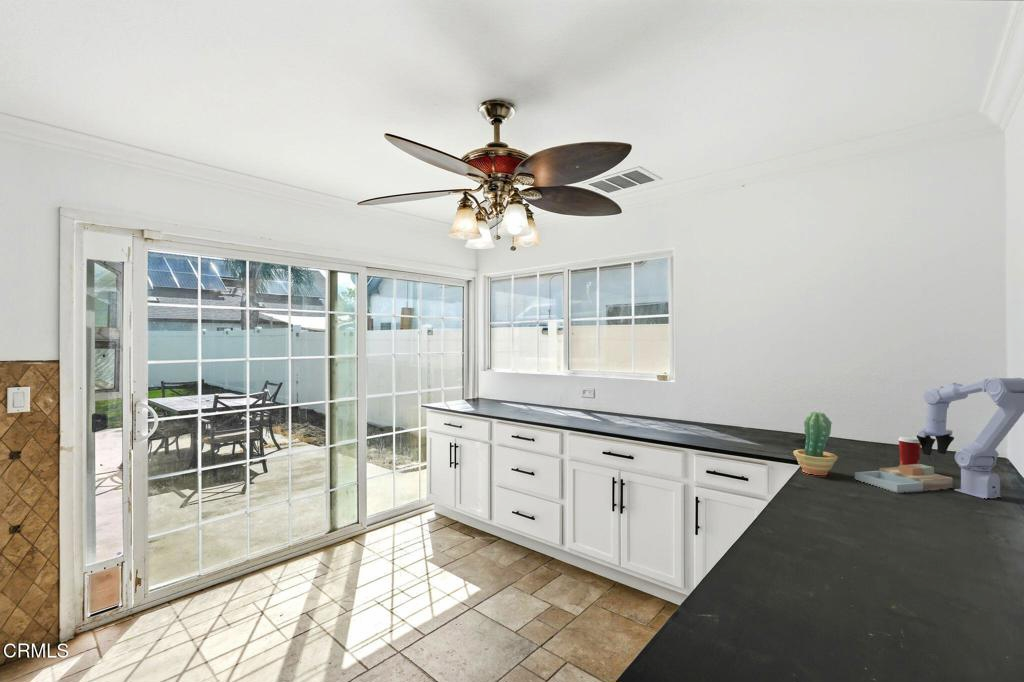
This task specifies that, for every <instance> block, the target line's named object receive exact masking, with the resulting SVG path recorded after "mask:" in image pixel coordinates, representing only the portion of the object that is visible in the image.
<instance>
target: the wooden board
mask: <svg viewBox="0 0 1024 682" xmlns="http://www.w3.org/2000/svg"><path fill="white" fill-rule="evenodd" d="M878 469H879V470H878V471H882V472H886V473H889V474H893V475H896V476H900V477H904V478H907V479H911V480H915V481H918V482H922V483H923V491H922V492H927V491H928V490H929V491H930V490H931V491H941V490H940V489H943V490H949V489H948V488H952V489H953V477H951V476H946V475H942V474H938V473H935V472H934V474H925V475H909V474H905V473H902V472H899V466H895V467H893V466H892V467H879V468H878ZM931 491H930V492H931Z"/></svg>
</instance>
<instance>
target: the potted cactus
mask: <svg viewBox="0 0 1024 682" xmlns="http://www.w3.org/2000/svg"><path fill="white" fill-rule="evenodd" d="M803 424H804V425H803V426H804V433H805V437H806V438H805V447H804V449H796V450H793V452H792V453H793V456H795V457H796V461H797V463H798V465H799V466H800V467H801V469H802V470H801V472H802V471H803V472H805V473H808V474H814V475H827V474H828V473H829V472H830V470H831V469H832V468H833V466H834V465H835V462H836V461H837V460H838V458H839V456H837V455H836V454H834V453H831V452H828V451H825V447H826V444H827V440H829V437H830V435H831V433H832V432H831V431H832V424H833V422H832V421H831V420H830V418H829V417H828V416H827V415H826V414H825V413H824V412H823V413H822V412H816V411H812V412H810V413H809V414H808V415H807V416H806V418H805V420H804V421H803ZM803 472H802V473H803ZM805 473H804V474H805ZM808 474H807V475H808ZM828 475H829V474H828Z"/></svg>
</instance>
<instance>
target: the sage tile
mask: <svg viewBox="0 0 1024 682" xmlns="http://www.w3.org/2000/svg"><path fill="white" fill-rule="evenodd" d="M910 465H913V466H917V467H921V468H923V475H925V474H934V473H935V467H934V466H931V465H930V466H929V465H926V464H922V463H919V464H910Z"/></svg>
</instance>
